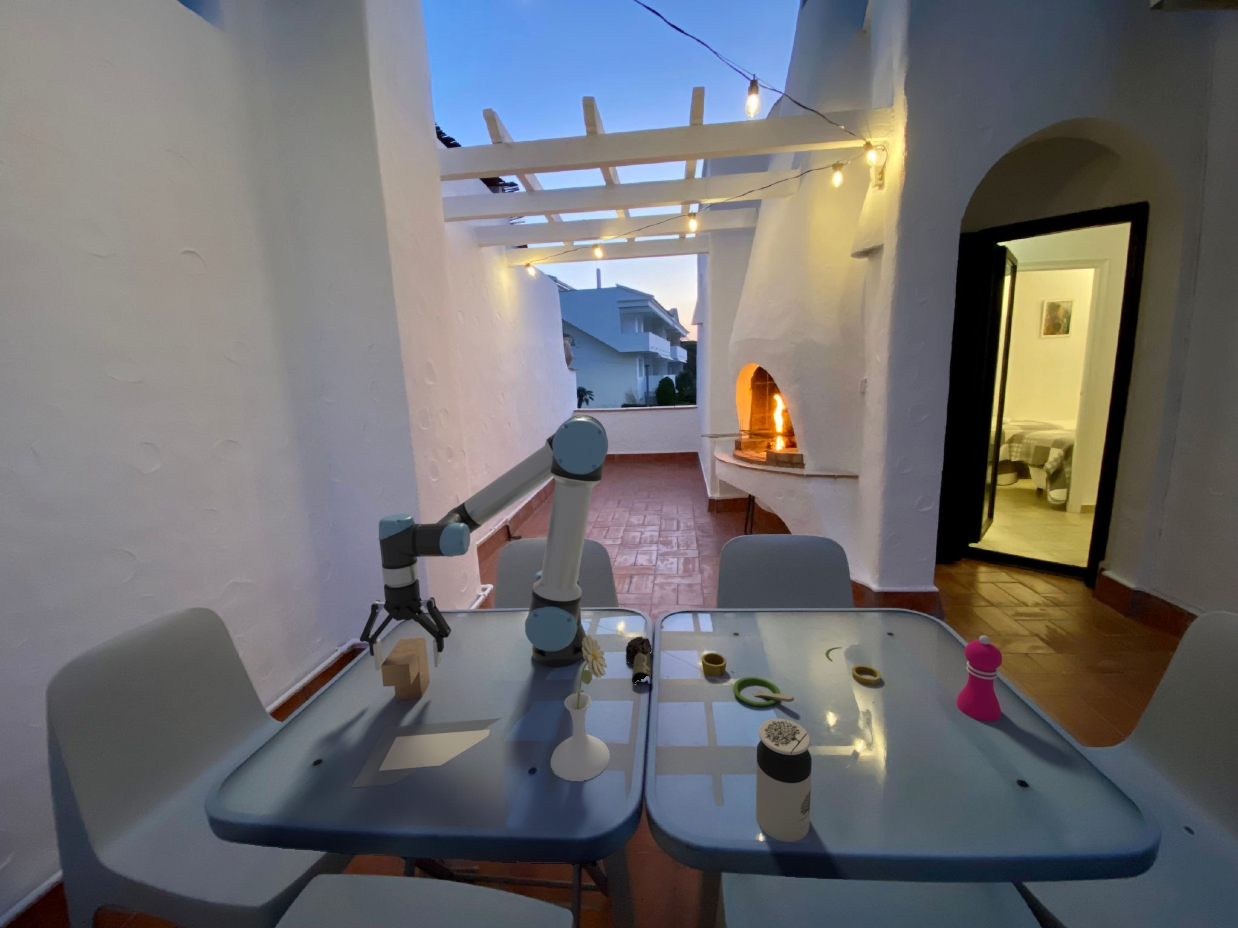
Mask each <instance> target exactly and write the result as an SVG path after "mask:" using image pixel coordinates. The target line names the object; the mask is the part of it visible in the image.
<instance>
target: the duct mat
mask: <svg viewBox="0 0 1238 928" xmlns="http://www.w3.org/2000/svg"><path fill="white" fill-rule="evenodd" d="M501 719H502V717H500V718H499V717H498V718H497V717H496V718H487V719H475V720H463V721H462V720H460V721H447V722H434V723H422V724H421V723H420V724H413V725H412V724H410V725H396V726H386V727H385V728H384V729H383V731H382V733H381V735H379V736H380V737H379V738H378V740H377V742H376V743H375V745H374V747H373V748H372V750H371V752H370V754H369V755H368V757H367V759H366V761H365V763H364V764H363V766H362V768H361V770H360V771H359V773H358V775H357V776H356V778H355V780H354V782H353V784H352V785H351V787H350V789H360V788H368V787H369V788H370V787H378V786H386V785H394V784H396V783H398V782H399V781H401V780H402V779H404V778H406V777H408V776H409V775H411V774H412V773H415V772H416V771H418V770H419V769H420V768H428V767H437V766H442V765H444V764H445V763H448V761H450V760H452V759H454V758H455V757H457V756H458V755H460V754H461V753H463V752H464V751H467V750H468V749H469V748H471V747H473V746H474V745H476V744H477V743H479V742H481V741H482V740H484V739H485V738H487V737H489V735H490V731H491V729H486V728H488V727H489V726H491V725H493V724H496V723H497V722H498V721H500V720H501Z"/></svg>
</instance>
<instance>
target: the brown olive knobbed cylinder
mask: <svg viewBox="0 0 1238 928" xmlns="http://www.w3.org/2000/svg"><path fill="white" fill-rule="evenodd" d="M625 647H626V648H625V660H626V662H629V663H630V665H631V664H633V665H632V668H633V669H632V674H631V682H632V685H634V684H636V683H635V682H636V681H637V680H639V681H641V679H644V678H645V677H646V676H649V677H650V678H651V674H652V663H651V655H650V652H651V650H652V651H653V649H652V644H651V641H650V639H649V638H648V637H646V638H643V637H642V636H636V637H634V638H632V639H631V640H630V641H628V642H627V645H626V646H625ZM629 663H628V664H629Z"/></svg>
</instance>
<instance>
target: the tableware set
mask: <svg viewBox="0 0 1238 928" xmlns="http://www.w3.org/2000/svg"><path fill="white" fill-rule="evenodd" d="M842 648H843V646H842V647H841V646H840V647H839V646H838V647H832V648H829V649H827V650H826V651H825V653H824V655H825V657H826V659H827V660H829V661H830V662H831V663H832V662H833V659H831V657H830V653H831V651H834V650H838V649H839V650H840V649H842ZM700 659H701V664H702V665H701V666H702V671H703V673H704V674H705V675H707V676H709V677H716V678H717V677H721V676H723V675H724V674H726V673H725V671H726V666H727V658H726V657H725V656H724V655H723V654H720V653H717V652H708V653H705V654H703V655H702V656H701V658H700ZM851 674H852V678H853V679H854V680H855V681H856V682H858V683H859V684H864V685H869V686H874V685H878V684H879V683H880V682H881V678H882V675H881V672H880V671H879V670H877V669H876V668H874V667H872V666H868V665H864V664H860V665H859V664H857V665H854V666H853V667H852V668H851ZM860 674H867V675H871V676H872V677H865V676H862V675H860ZM748 686H749V687H750V686H761V687H764V688H766V689H768V690H769V691H770V692H763V691H762V690H759V691H758V692H756V694H754V695H753V697H754V698H765V699H769V700H766V701H756V700H750V699H748V698H746V697H744V696H743V695H741V691H742V690H743V689H744V688H746V687H748ZM732 688H733V693H734V695H735V697H736V698H737V699H738V700H739V701H741V702H743V703H744V704H746V705H749V706H752V707H758V708H759V707H763V708H764V707H770V706H772V705H774V704H776V703H777V702H778V701H780V702H785V703H792V702H794V700H795V697H794V696H793V695H791V694H784V693H783V694H782V693H781V691H780V689H779V687H778V685H776V684H775V683H773V682H772V681H770V680H768V679H765V678H762V677H756V676H746V677H742V678H739V679H738V680H736V681H735V682H734V684H733V687H732Z"/></svg>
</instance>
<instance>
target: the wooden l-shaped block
mask: <svg viewBox="0 0 1238 928" xmlns="http://www.w3.org/2000/svg"><path fill="white" fill-rule="evenodd" d="M428 662H429V661H428V652H427V643H426V637H418V638H417V637H416V638H402V639H399V640H398V641H397V643H396V644H395V645H394V648H392V650H391V651H390V653H389V654H388V655H387V657H386V658H385V659H384V660H383V664H382V665H381V668H380V669H381V678H382V687H385V688H386V687H393V688H394V694H395V700H396V701H397V700H407V699H417V698H423V696H424V695H425V692H426V691H427V688H428V687H429V685H430V683H431V682H430V671H429V663H428Z"/></svg>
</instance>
